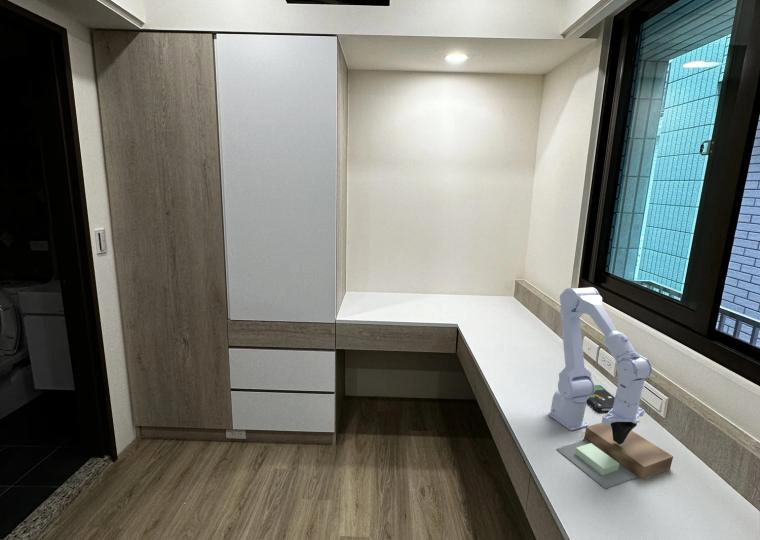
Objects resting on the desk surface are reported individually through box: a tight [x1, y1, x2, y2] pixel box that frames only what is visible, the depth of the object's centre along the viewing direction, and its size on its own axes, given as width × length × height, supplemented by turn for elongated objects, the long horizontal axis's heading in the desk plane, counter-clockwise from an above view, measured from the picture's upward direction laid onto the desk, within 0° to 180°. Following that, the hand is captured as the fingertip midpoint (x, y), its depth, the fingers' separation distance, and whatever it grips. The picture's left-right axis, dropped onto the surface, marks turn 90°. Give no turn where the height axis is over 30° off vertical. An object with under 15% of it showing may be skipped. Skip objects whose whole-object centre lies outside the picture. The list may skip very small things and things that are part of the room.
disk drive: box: [586, 384, 615, 414], centre depth 145 cm, size 10×3×15 cm
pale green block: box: [575, 443, 619, 475], centre depth 112 cm, size 9×6×2 cm, turn 23°
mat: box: [556, 439, 638, 490], centre depth 112 cm, size 16×12×1 cm
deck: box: [583, 422, 674, 480], centre depth 117 cm, size 18×12×4 cm, turn 23°
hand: (617, 441), depth 114 cm, fingers closed
